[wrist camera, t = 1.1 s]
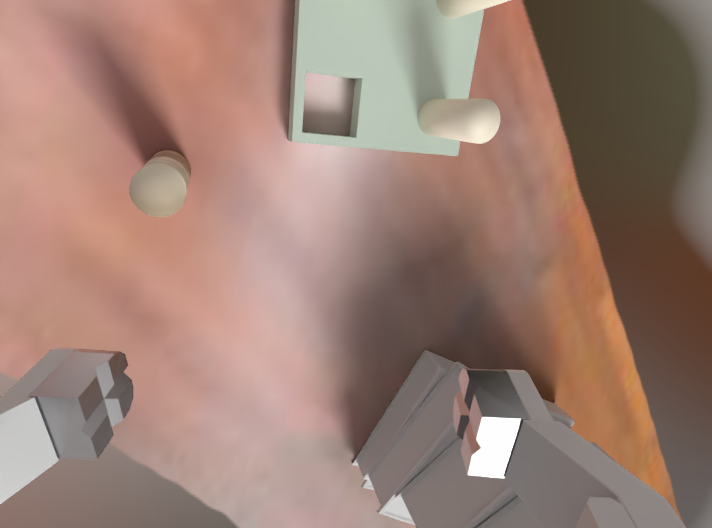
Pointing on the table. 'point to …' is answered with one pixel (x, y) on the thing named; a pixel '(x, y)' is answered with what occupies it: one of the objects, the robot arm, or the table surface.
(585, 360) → the table surface
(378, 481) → the book stack
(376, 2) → the stool seat
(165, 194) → the loose leg
